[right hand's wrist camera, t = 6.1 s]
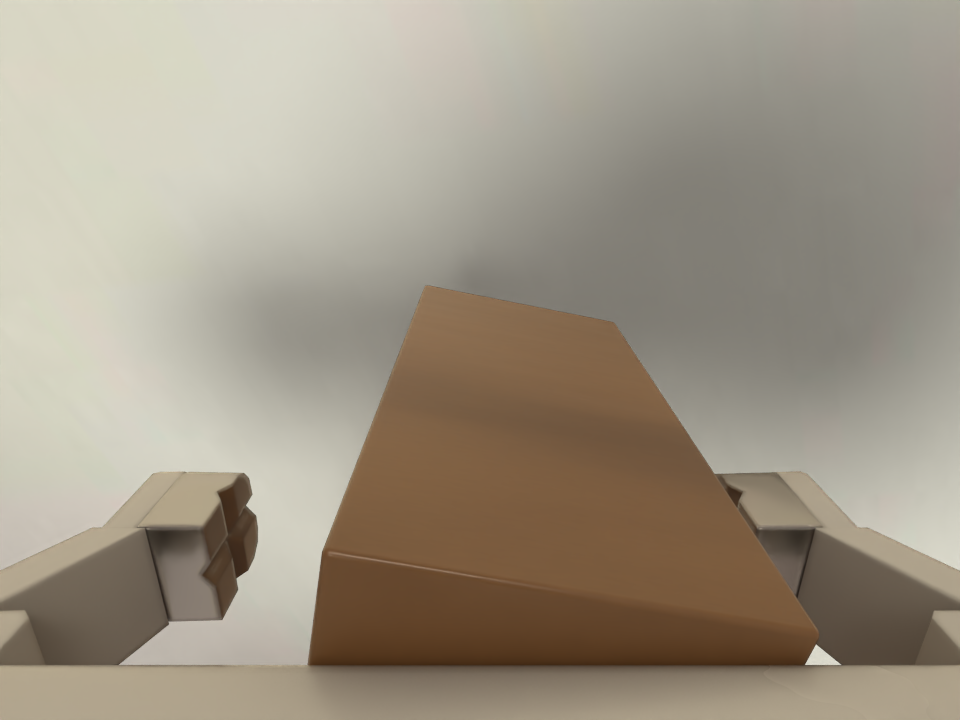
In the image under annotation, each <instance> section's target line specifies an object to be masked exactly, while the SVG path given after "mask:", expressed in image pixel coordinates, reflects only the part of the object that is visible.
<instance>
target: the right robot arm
mask: <svg viewBox="0 0 960 720" xmlns="http://www.w3.org/2000/svg"><path fill="white" fill-rule="evenodd" d="M715 475H716V477H717V478H718V480H719V481H720V483H721V484H722V486H723V487H724V489H725V491H726V492H727V494H728V495H729V497H730V498H731V500H732V501H733V503H734V504H735V506H736V507H737V509H738V510H739V512H740V513H741V515H742V516H743V518H744V519H745V521H746V522H747V524H748V525H749V527H750V528H751V530H752V531H753V533H754V534H755V536H756V537H757V539H758V540H759V542H760V543H761V545H762V546H763V548H764V549H765V551H766V552H767V554H768V555H769V557H770V558H771V560H772V561H773V563H774V564H775V566H776V567H777V569H778V570H779V572H780V574H781V575H782V577H783V578H784V580H785V581H786V583H787V584H788V586H789V587H790V589H791V590H792V592H793V593H794V595H795V596H796V598H797V599H798V601H799V602H800V604H801V605H802V607H803V608H804V610H805V611H806V613H807V614H808V616H809V617H810V619H811V620H812V622H813V623H814V625H815V626H816V628H817V629H818V632H819V639H818V641H817V643H816V644H817V645H818V646H819V647H820V648H821V649H823V650H824V651H825V652H826V653H828V654H829V655H830V656H831V657H833V658H834V659H835V660H836V661H838V662H839V663H840V664H841V665H119V664H120V663H121V662H123V661H124V660H125V659H126V658H128V657H129V656H130V655H131V654H133V653H134V652H135V651H136V650H137V649H139V648H140V647H141V646H142V645H144V644H145V643H146V642H147V641H149V640H150V639H151V638H152V637H154V636H155V635H156V634H157V633H159V632H160V631H161V630H162V629H164V628H165V627H166V626H167V625H169V622H168V621H203V620H222V619H223V617H224V616H225V614H226V612H227V610H228V608H229V606H230V604H231V602H232V600H233V598H234V596H235V595H236V593H237V591H238V586H237V580H236V578H237V577H239V576H240V575H242V574H243V573H245V572H246V571H248V570H249V567H250V565H251V563H252V561H253V559H254V556H255V552H256V547H257V543H258V525H257V519H256V515H255V514H254V513H253V512H252V511H251V510H250V509H249V508H248V507H247V506H246V504H247V503H248V501H249V499H250V498H251V496H252V490H251V485H250V480H249V478H248V477H247V476H246V475H245V474H244V473H218V472H158V473H154V474H152V475H151V476H150V477H149V478H148V480H147V481H146V482H145V483H144V484H143V485H142V486H141V487H140V488H139V489H138V490H137V491H136V492H135V493H134V494H133V495H132V496H131V498H130V499H129V500H128V501H127V502H126V503H125V504H124V505H123V506H122V507H121V508H120V509H119V510H118V511H117V512H116V513H115V514H114V516H113V517H112V518H111V519H110V520H109V521H108V522H107V523H106V524H105V525H104V526H103V527H102V528H91V529H89V530H86V531H84V532H82V533H80V534H78V535H76V536H74V537H71V538H69V539H67V540H65V541H63V542H61V543H59V544H56V545H54V546H52V547H50V548H48V549H46V550H44V551H41V552H39V553H37V554H35V555H33V556H31V557H29V558H26V559H24V560H22V561H20V562H18V563H16V564H14V565H11V566H9V567H7V568H5V569H3V570H1V571H0V720H960V571H959V570H957V569H955V568H953V567H951V566H948V565H946V564H944V563H942V562H940V561H938V560H936V559H933V558H931V557H929V556H927V555H925V554H923V553H921V552H918V551H916V550H914V549H912V548H910V547H908V546H906V545H903V544H901V543H899V542H897V541H895V540H893V539H891V538H888V537H886V536H884V535H882V534H880V533H878V532H876V531H874V530H871V529H869V528H858V527H857V526H856V525H855V524H854V523H853V522H852V521H851V520H850V519H849V518H848V517H847V515H846V514H845V513H844V512H843V511H842V510H841V509H840V508H839V507H838V506H837V505H836V504H835V503H834V502H833V501H832V500H831V499H830V497H829V496H828V495H827V494H826V493H825V492H824V491H823V490H822V489H821V488H820V487H819V486H818V485H817V484H816V483H815V482H814V480H813V479H812V478H811V477H810V476H809V475H808V474H806V473H803V472H801V471H795V472H772V473H735V474H715Z"/></svg>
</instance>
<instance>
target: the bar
mask: <svg viewBox="0 0 960 720" xmlns="http://www.w3.org/2000/svg"><path fill="white" fill-rule="evenodd" d="M818 639H819V632H818V629H817V628H816V626H815V625H814V623H813V622H812V620H811V619H810V617H809V616H808V614H807V613H806V611H805V610H804V608H803V607H802V605H801V604H800V602H799V601H798V599H797V598H796V596H795V595H794V593H793V592H792V590H791V589H790V587H789V586H788V584H787V583H786V581H785V580H784V578H783V577H782V575H781V574H780V572H779V570H778V569H777V567H776V566H775V564H774V563H773V561H772V560H771V558H770V557H769V555H768V554H767V552H766V551H765V549H764V548H763V546H762V545H761V543H760V542H759V540H758V539H757V537H756V536H755V534H754V533H753V531H752V530H751V528H750V527H749V525H748V524H747V522H746V521H745V519H744V518H743V516H742V515H741V513H740V512H739V510H738V509H737V507H736V506H735V504H734V503H733V501H732V500H731V498H730V497H729V495H728V494H727V492H726V491H725V489H724V487H723V486H722V484H721V483H720V481H719V480H718V478H717V477H716V475H715V474H714V472H713V471H712V469H711V468H710V466H709V465H708V463H707V462H706V460H705V459H704V457H703V456H702V454H701V453H700V451H699V450H698V448H697V447H696V445H695V444H694V442H693V441H692V439H691V438H690V436H689V435H688V433H687V432H686V430H685V429H684V427H683V426H682V424H681V423H680V421H679V420H678V418H677V417H676V415H675V414H674V412H673V411H672V409H671V407H670V406H669V404H668V403H667V401H666V400H665V398H664V397H663V395H662V394H661V392H660V391H659V389H658V388H657V386H656V385H655V383H654V382H653V380H652V379H651V377H650V376H649V374H648V373H647V371H646V370H645V368H644V367H643V365H642V364H641V362H640V361H639V359H638V358H637V356H636V355H635V353H634V352H633V350H632V349H631V347H630V346H629V344H628V343H627V341H626V340H625V338H624V337H623V335H622V334H621V332H620V331H619V329H618V328H617V326H616V324H615V323H614V322H610V321H605V320H600V319H595V318H590V317H585V316H580V315H575V314H569V313H564V312H559V311H554V310H549V309H544V308H539V307H534V306H529V305H524V304H519V303H514V302H509V301H504V300H499V299H494V298H489V297H484V296H479V295H474V294H469V293H464V292H458V291H453V290H448V289H443V288H438V287H433V286H428V285H427V286H425V287H424V289H423V292H422V295H421V297H420V300H419V302H418V305H417V308H416V310H415V313H414V315H413V318H412V321H411V323H410V326H409V328H408V331H407V333H406V336H405V339H404V341H403V344H402V346H401V349H400V352H399V354H398V357H397V359H396V362H395V365H394V367H393V370H392V372H391V375H390V377H389V380H388V383H387V385H386V388H385V390H384V393H383V396H382V398H381V401H380V403H379V406H378V409H377V411H376V414H375V416H374V419H373V421H372V424H371V427H370V429H369V432H368V434H367V437H366V440H365V442H364V445H363V447H362V450H361V453H360V455H359V458H358V460H357V463H356V465H355V468H354V471H353V473H352V476H351V478H350V481H349V484H348V486H347V489H346V491H345V494H344V497H343V499H342V502H341V504H340V507H339V510H338V512H337V515H336V517H335V520H334V522H333V525H332V528H331V530H330V533H329V535H328V538H327V541H326V543H325V546H324V548H323V551H322V557H321V565H320V572H319V580H318V588H317V596H316V604H315V611H314V619H313V627H312V635H311V642H310V650H309V658H308V665H805V663H806V662H807V660H808V658H809V656H810V654H811V652H812V650H813V649H814V647H815V645H816V643H817V641H818Z"/></svg>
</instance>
